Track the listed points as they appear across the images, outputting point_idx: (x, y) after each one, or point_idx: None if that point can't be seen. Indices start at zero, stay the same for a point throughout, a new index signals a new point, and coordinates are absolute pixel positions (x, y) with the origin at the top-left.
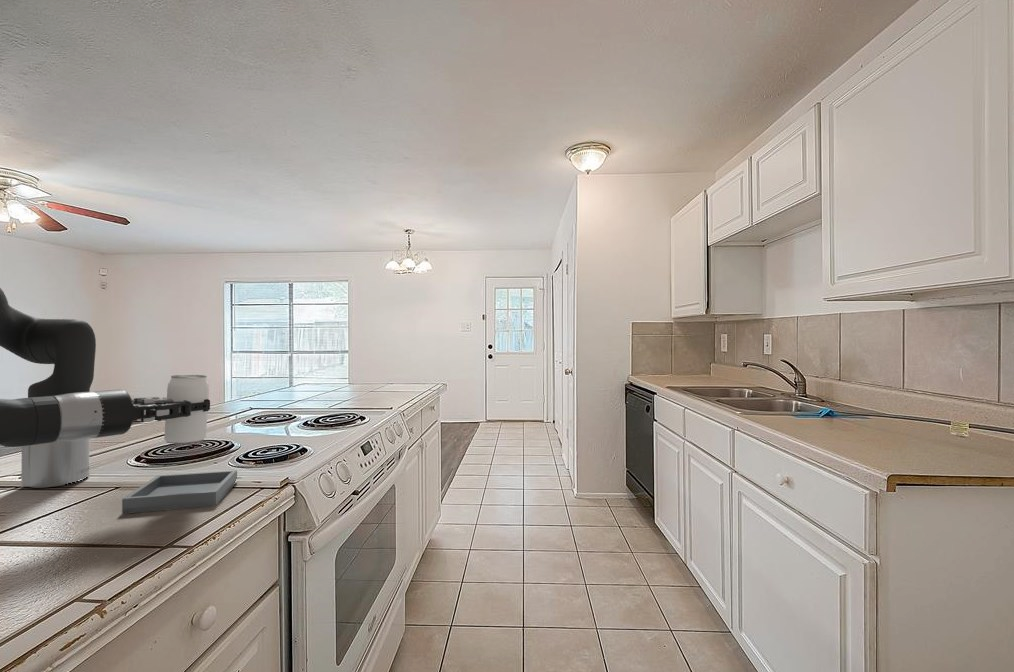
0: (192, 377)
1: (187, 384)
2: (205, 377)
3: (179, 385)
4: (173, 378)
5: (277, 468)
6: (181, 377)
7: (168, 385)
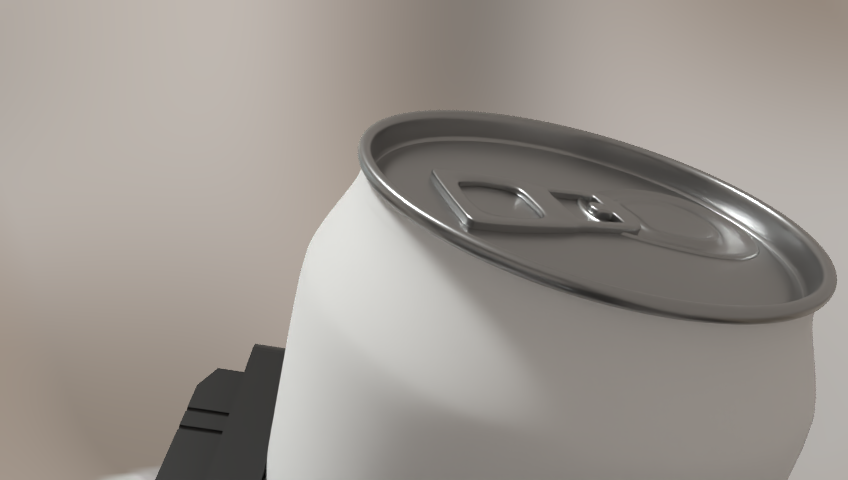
0: (826, 261)
1: (812, 391)
2: (693, 182)
3: (782, 452)
4: (657, 333)
5: None
6: (810, 309)
7: (541, 464)
